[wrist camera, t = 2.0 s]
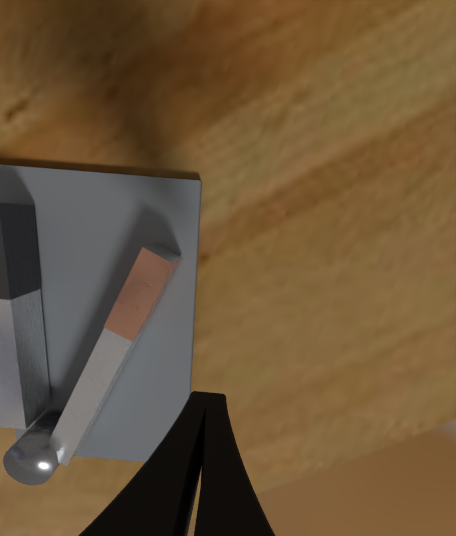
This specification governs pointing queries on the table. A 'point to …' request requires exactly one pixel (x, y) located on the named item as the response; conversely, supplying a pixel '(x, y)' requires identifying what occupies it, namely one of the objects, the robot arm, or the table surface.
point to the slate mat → (113, 293)
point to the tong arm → (94, 372)
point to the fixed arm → (21, 321)
